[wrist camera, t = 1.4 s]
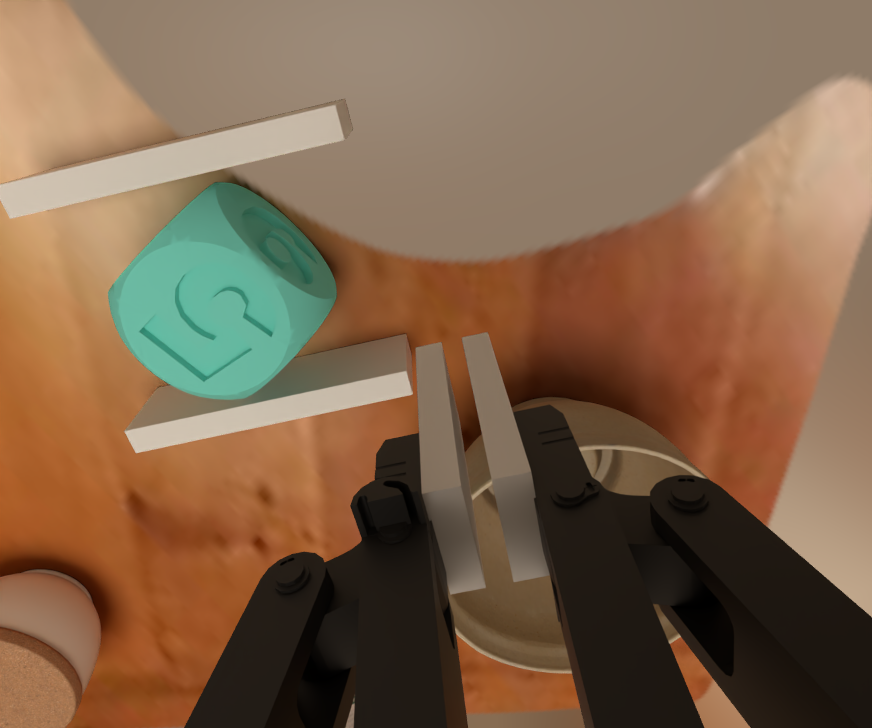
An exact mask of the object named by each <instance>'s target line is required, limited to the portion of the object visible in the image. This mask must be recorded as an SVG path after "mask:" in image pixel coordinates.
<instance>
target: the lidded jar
mask: <svg viewBox="0 0 872 728" xmlns="http://www.w3.org/2000/svg"><path fill="white" fill-rule="evenodd" d="M100 645H101V625H100V620H99V616H98V613H97V611H96V609H95V607H94V604H93V601H92V597H91V595H90V593H89V592H88V590H87V589H86V588H85V587H84V586H83V585H82V584H81V583H80V582H79V581H77V580H76V579H74V578H72V577H70V576H68V575H66V574H64V573H61V572H57V571H53V570H46V569H35V570H28V571H24V572H22V573H17V574H12V575H7V576H3V577H0V728H65V727H66V726H67V725H68V724H69V723H70V721H71V720H72V718H73V717H74V715H75V713H76V711H77V709H78V707H79V705H80V702H81V698H82V695H83V693H84V691H85V689H86V687H87V685H88V683H89V680H90V678H91V676H92V674H93V671H94V668H95V665H96V662H97V658H98V654H99V649H100Z"/></svg>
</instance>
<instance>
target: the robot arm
mask: <svg viewBox="0 0 872 728" xmlns="http://www.w3.org/2000/svg"><path fill="white" fill-rule="evenodd" d="M462 342H463V347H464V351H465V356H466V361H467V365H468V370H469V375H470V380H471V384H472V389H473V394H474V399H475V403H476V408H477V413H478V417H479V422H480V427H481V432H482V436H483V441H484V446H485V451H486V455H487V460H488V465H489V470H490V474H491V479H492V484H493V488H494V493H495V498H496V502H497V507H498V512H499V516H500V521H501V526H502V530H503V535H504V540H505V544H506V549H507V554H508V558H509V563H510V567H511V572H512V577H513V581H514V582H518V581H523V580H529V579H534V578H539V577H544V576H549V574H550V578H551V583H552V589H553V595H554V600H555V606H556V612H557V618H558V622H560V624H561V629H562V633H563V637H564V641H565V645H566V649H567V654H568V658H569V662H570V666H571V670H572V675H573V679H574V683H575V687H576V691H577V696H578V700H579V704H580V708H581V712H582V716H583V720H584V725H585V728H704V726H703V723H702V721H701V718H700V716H699V714H698V711H697V709H696V706H695V704H694V702H693V699H692V697H691V694H690V692H689V690H688V687H687V685H686V682H685V680H684V678H683V675H682V673H681V670H680V668H679V666H678V663H677V661H676V658H675V656H674V654H673V651H672V649H671V646H670V644H669V642H668V639H667V637H666V634H665V632H664V630H663V627H662V625H661V622H660V620H659V618H658V615H657V613H656V610H655V608H654V606H653V604H658V605H659V607H660V609H661V611H662V612H663V614H664V615H665V616H666V618H667V619H668V620H669V622H670V623H671V624H672V625H673V627H674V628H675V629H676V631H677V632H678V633H679V635H680V636H681V637H682V639H683V640H684V641H685V642H686V644H687V645H688V646H689V648H690V649H691V650H692V652H693V653H694V654H695V656H696V657H697V658H698V659H699V661H700V662H701V663H702V665H703V666H704V667H705V669H706V670H707V671H708V672H709V674H710V675H711V676H712V678H713V679H714V680H715V682H716V683H717V684H718V686H719V687H720V688H721V689H722V691H723V692H724V693H725V695H726V696H727V697H728V699H729V700H730V701H731V703H732V704H733V705H734V706H735V708H736V709H737V710H738V712H739V713H740V714H741V715H742V717H743V718H744V719H745V721H746V722H747V723H748V725H749V726H750V727H751V728H872V617H871V616H870V615H869V614H867V613H866V612H865V611H864V610H863V609H861V608H860V607H859V606H858V605H857V604H856V603H854V602H853V601H852V600H851V599H850V598H849V597H847V596H846V595H845V594H844V593H843V592H842V591H841V590H840V589H838V588H837V587H836V586H835V585H834V584H833V583H831V582H830V581H829V580H828V579H827V578H826V577H824V576H823V575H822V574H821V573H820V572H819V571H817V570H816V569H815V568H814V567H813V566H812V565H810V564H809V563H808V562H807V561H806V560H805V559H804V558H802V557H801V556H800V555H799V554H798V553H797V552H795V551H794V550H793V549H792V548H791V547H790V546H788V545H787V544H786V543H785V542H784V541H783V540H781V539H780V538H779V537H778V536H777V535H776V534H775V533H773V532H772V531H771V530H770V529H769V528H768V527H766V526H765V525H764V524H763V523H762V522H761V521H759V520H758V519H757V518H756V517H755V516H754V515H753V514H751V513H750V512H749V511H748V510H747V509H746V508H744V507H743V506H742V505H741V504H740V503H739V502H737V501H736V500H735V499H734V498H733V497H732V496H730V495H729V494H728V493H727V492H726V491H725V490H724V489H722V488H721V487H720V486H718V485H717V484H715V483H713V482H712V481H710V480H709V479H705V478H702V477H698V476H694V475H677V476H672V477H667V478H665V479H663V480H661V481H660V482H658V483H656V484H655V486H654V487H653V488H652V490H651V491H650V496H638V495H624V494H619V493H615V492H611V491H609V490H607V489H605V488H604V487H603V486H602V485H601V483H600V482H599V481H598V480H596V479H594V478H593V477H592V476H591V473H590V471H589V469H588V467H587V465H586V462H585V460H584V458H583V456H582V454H581V452H580V449H579V447H578V445H577V443H576V441H575V439H574V436H573V434H572V432H571V430H570V429H569V425H568V423H567V421H566V419H565V416H564V414H563V413H562V412H560V411H559V410H557V409H556V408H554V407H553V406H551V405H550V404H549V405H545V406H540V407H535V408H530V409H525V410H521V411H516V412H512V408H511V405H510V402H509V399H508V396H507V392H506V389H505V386H504V383H503V380H502V376H501V373H500V370H499V367H498V364H497V360H496V357H495V354H494V351H493V348H492V344H491V341H490V338H489V335H488V332H486V333H481V334H477V335H472V336H467V337H463V338H462ZM416 369H417V393H418V417H419V433H417V434H412V435H407V436H403V437H398V438H393V439H388V440H385V442H384V443H383V445H382V446H381V448H380V449H379V451H378V452H377V454H376V470H375V481H372V482H370V483H369V484H367V485H366V486H364V487H362V488H361V489H360V490H359V491H358V492H357V493H356V495H355V496H354V497H353V500H352V503H351V505H350V506H351V509H352V512H353V515H354V518H355V520H356V523H357V526H358V529H359V532H360V534H361V537H362V541H361V542H360V543H359V544H358V545H357V546H355V547H354V548H353V549H351V550H350V551H348V552H346V553H344V554H342V555H340V556H338V557H336V558H334V559H332V560H329V561H327V562H324V560H323V558H322V557H320V556H319V555H317V554H316V553H310V552H301V553H295V554H291V555H289V556H287V557H285V558H283V559H280V560H279V561H277V562H276V563H275V564H274V565H272V566H271V567H270V568H269V569H268V570H267V571H266V573H265V574H264V575H263V577H262V578H261V579H260V581H259V583H258V585H257V587H256V589H255V591H254V593H253V595H252V597H251V599H250V601H249V603H248V605H247V607H246V609H245V611H244V613H243V614H242V616H241V618H240V620H239V622H238V624H237V626H236V628H235V630H234V632H233V634H232V636H231V638H230V640H229V642H228V644H227V646H226V647H225V649H224V651H223V653H222V655H221V657H220V659H219V661H218V663H217V665H216V667H215V669H214V671H213V673H212V675H211V677H210V679H209V681H208V682H207V684H206V686H205V688H204V690H203V692H202V694H201V696H200V698H199V700H198V702H197V704H196V706H195V708H194V710H193V712H192V714H191V716H190V717H189V719H188V721H187V723H186V725H185V727H184V728H345V727H346V724H347V720H348V717H349V713H350V710H351V706H352V703H353V699H354V696H355V706H354V728H468V724H467V716H466V708H465V701H464V693H463V685H462V678H461V670H460V662H459V655H458V647H457V639H456V632H455V624H454V616H453V612H452V609H451V605H450V602H449V598H448V588H449V591H450V595H451V594H456V593H461V592H466V591H472V590H477V589H482V588H486V585H485V579H484V573H483V566H482V560H481V554H480V547H479V541H478V534H477V528H476V522H475V515H474V509H473V502H472V496H471V490H470V483H469V477H468V471H467V464H466V458H465V451H464V445H463V439H462V432H461V426H460V420H459V416H458V411H457V407H456V403H455V398H454V394H453V390H452V386H451V381H450V377H449V373H448V368H447V364H446V360H445V355H444V351H443V347H442V342H439V343H435V344H430V345H426V346H421V347H416ZM447 584H448V587H447Z"/></svg>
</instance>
